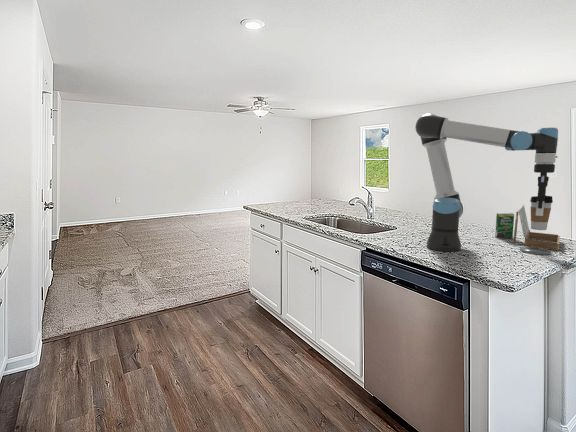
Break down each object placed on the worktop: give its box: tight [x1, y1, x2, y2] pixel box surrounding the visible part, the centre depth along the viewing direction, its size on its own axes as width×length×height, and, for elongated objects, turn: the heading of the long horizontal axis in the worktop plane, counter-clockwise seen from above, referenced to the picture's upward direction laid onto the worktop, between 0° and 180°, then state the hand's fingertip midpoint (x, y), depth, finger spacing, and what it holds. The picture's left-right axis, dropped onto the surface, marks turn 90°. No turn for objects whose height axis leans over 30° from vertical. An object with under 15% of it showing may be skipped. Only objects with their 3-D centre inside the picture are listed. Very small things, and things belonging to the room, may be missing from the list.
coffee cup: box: [529, 195, 554, 231], centre depth 166 cm, size 8×8×15 cm
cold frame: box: [512, 204, 561, 251], centre depth 184 cm, size 22×19×18 cm
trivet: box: [519, 246, 552, 256], centre depth 169 cm, size 12×12×1 cm
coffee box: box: [494, 212, 515, 239], centre depth 197 cm, size 8×3×13 cm, turn 77°
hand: (539, 214), depth 166 cm, fingers closed on coffee cup, 8 cm apart
